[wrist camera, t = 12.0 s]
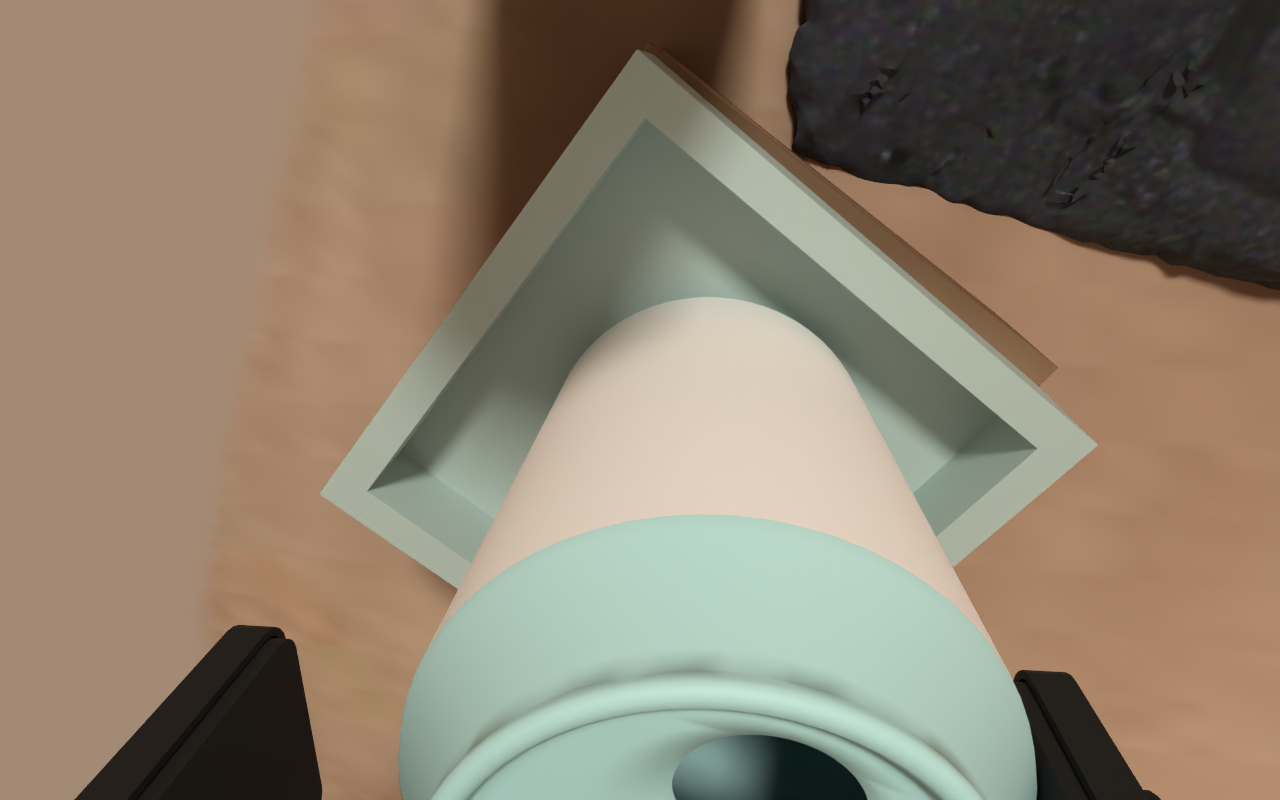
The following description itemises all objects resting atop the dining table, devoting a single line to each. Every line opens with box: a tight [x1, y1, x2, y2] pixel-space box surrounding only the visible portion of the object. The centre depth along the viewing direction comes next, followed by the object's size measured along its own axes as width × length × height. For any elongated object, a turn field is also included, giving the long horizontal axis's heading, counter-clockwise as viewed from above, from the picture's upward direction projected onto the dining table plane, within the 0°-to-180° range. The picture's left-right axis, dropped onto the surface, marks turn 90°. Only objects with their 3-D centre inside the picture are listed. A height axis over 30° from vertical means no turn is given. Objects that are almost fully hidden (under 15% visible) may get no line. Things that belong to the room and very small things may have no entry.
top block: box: [320, 49, 1098, 589], centre depth 18 cm, size 12×12×4 cm
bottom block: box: [642, 42, 1058, 387], centre depth 22 cm, size 12×12×5 cm
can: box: [398, 297, 1037, 800], centre depth 13 cm, size 7×7×12 cm
